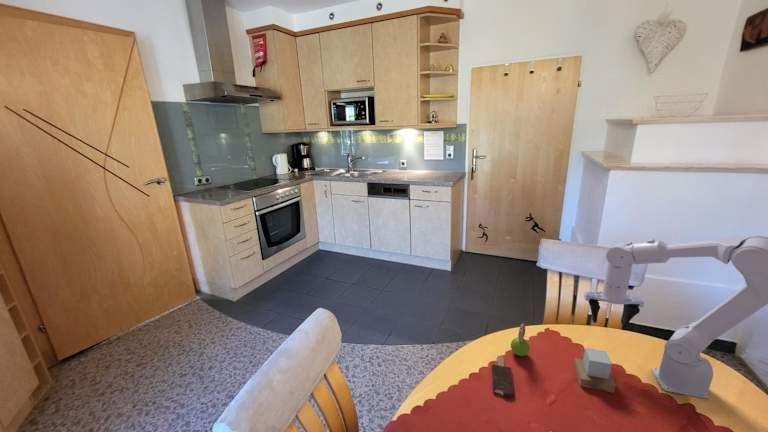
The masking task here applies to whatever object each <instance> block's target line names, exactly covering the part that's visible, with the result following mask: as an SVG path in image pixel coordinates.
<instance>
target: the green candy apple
mask: <svg viewBox="0 0 768 432" xmlns="http://www.w3.org/2000/svg"><path fill="white" fill-rule="evenodd" d="M525 334H526V325H525V323H521V324H520V326H519V329H518V335H517V337H515V338H513V339H512V340H511V342H510V349H511V351H512V352H513V354H514V355H516V356H519V357H525V356H527V355H528V354H529V353H530V350H531V346H530V343H529V341H528V340H527V339H525Z"/></svg>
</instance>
